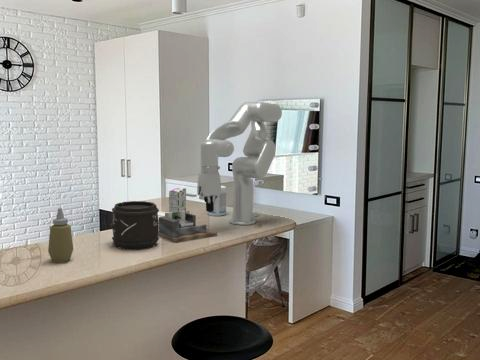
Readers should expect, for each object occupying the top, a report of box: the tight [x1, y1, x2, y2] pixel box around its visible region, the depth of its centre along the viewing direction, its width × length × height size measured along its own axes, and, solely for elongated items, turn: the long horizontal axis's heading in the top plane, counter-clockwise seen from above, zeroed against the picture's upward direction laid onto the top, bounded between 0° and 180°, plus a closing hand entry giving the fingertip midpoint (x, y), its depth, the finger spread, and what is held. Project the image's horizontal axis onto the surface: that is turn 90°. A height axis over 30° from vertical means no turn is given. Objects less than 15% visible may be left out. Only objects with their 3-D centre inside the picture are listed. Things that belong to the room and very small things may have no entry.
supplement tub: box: [207, 185, 227, 217], centre depth 244 cm, size 10×10×15 cm
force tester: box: [158, 209, 218, 244], centre depth 199 cm, size 21×16×9 cm
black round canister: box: [110, 200, 160, 251], centre depth 183 cm, size 18×18×16 cm
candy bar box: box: [168, 187, 187, 213], centre depth 219 cm, size 11×5×16 cm, turn 168°
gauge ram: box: [175, 212, 197, 228], centre depth 200 cm, size 7×9×7 cm
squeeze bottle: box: [47, 207, 74, 263], centre depth 159 cm, size 8×8×18 cm
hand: (209, 211), depth 207 cm, fingers closed
